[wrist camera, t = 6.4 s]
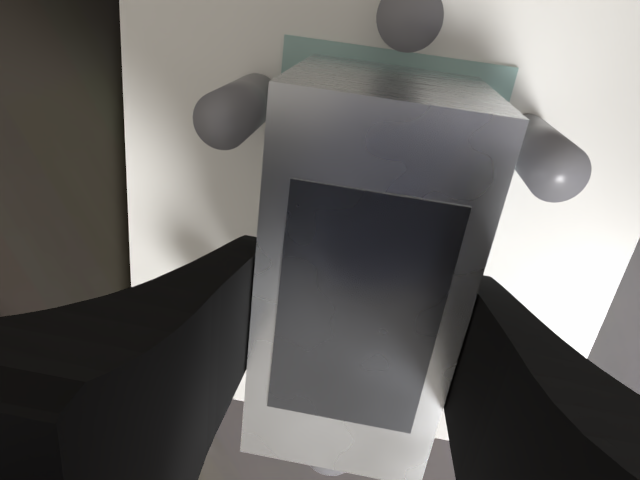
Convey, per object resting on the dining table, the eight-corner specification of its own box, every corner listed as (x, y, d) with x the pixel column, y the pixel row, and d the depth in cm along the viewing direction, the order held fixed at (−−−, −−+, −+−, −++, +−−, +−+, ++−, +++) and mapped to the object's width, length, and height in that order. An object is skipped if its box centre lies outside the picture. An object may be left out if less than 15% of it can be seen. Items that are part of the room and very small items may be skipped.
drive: (479, 77, 12) (530, 120, 8) (412, 347, 16) (420, 489, 11) (314, 53, 12) (268, 82, 8) (283, 324, 16) (239, 453, 11)
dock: (721, -11, 12) (864, -18, 8) (536, 435, 18) (571, 545, 14) (135, -87, 13) (32, -123, 9) (147, 361, 19) (88, 447, 15)
